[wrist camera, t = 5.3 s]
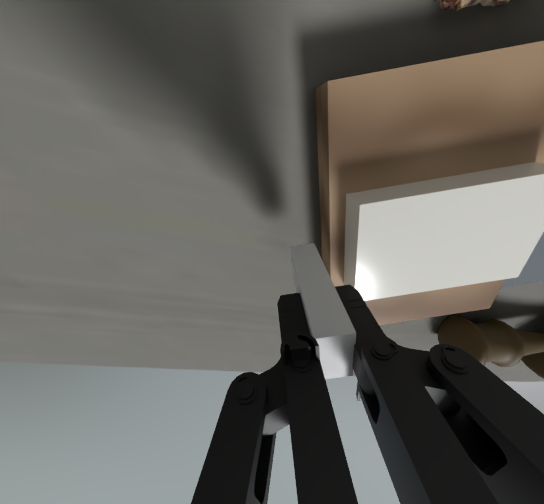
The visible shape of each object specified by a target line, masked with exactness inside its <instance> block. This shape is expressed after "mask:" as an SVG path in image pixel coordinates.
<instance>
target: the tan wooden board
mask: <svg viewBox="0 0 544 504" xmlns="http://www.w3.org/2000/svg"><path fill="white" fill-rule="evenodd" d="M315 95H316V120H317V146H318V171H319V197H320V222H321V247H322V261H323V263H324V265H325V267H326V269H327V272H328V274H329V276H330V278H331V280H332V282H333V284H334V286H335V287H336V286H342V285H344V256H345V218H346V194H349V193H355V192H361V191H367V190H372V189H378V188H384V187H390V186H396V185H402V184H408V183H414V182H419V181H425V180H431V179H437V178H443V177H449V176H455V175H461V174H466V173H472V172H478V171H484V170H490V169H496V168H502V167H508V166H513V165H519V164H525V163H531V162H541V163H544V41H539V42H534V43H528V44H523V45H518V46H512V47H507V48H502V49H496V50H491V51H486V52H480V53H475V54H470V55H464V56H459V57H453V58H448V59H443V60H437V61H432V62H427V63H421V64H416V65H411V66H405V67H400V68H395V69H389V70H384V71H379V72H373V73H368V74H363V75H357V76H352V77H346V78H341V79H336V80H330V81H327V82H325V83H324V84H322V85H320V86H319V87H317V88H315ZM504 281H505V279H504V280H497V281H491V282H484V283H478V284H471V285H465V286H458V287H452V288H445V289H439V290H432V291H426V292H419V293H413V294H406V295H400V296H394V297H387V298H381V299H374V300H368V301H365V303H366V304H367V307H368V308H369V309H370V311H371V313H372V314H373V316H374V318H375V319H376V321H377V323H378V324H379V325H383V324H390V323H396V322H403V321H410V320H416V319H423V318H430V317H436V316H443V315H450V314H456V313H463V312H469V311H476V310H483V309H489V308H490V307H491V305H492V303H493V301H494V299H495V298H496V296H497V294H498V292H499V290H500V288H501V286H502V284H503V282H504Z"/></svg>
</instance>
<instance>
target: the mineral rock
mask: <svg viewBox="0 0 544 504" xmlns="http://www.w3.org/2000/svg"><path fill="white" fill-rule="evenodd" d="M436 1H437V2H438V3H439V5H440V8H441V9H442V8H444V9H446V10H450V9H451V8H452V9H453V10H454V11H455V12H457V11H458V10H460V9H461V8H464V7H467V6H472V5H476V4H478V3H481V5H482V6H489V5H490V6H496V5H498V4H501V5H504V4H506V3H508V2H510V1H512V0H436Z"/></svg>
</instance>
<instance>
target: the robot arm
mask: <svg viewBox="0 0 544 504" xmlns="http://www.w3.org/2000/svg"><path fill="white" fill-rule="evenodd" d="M290 252H291V260H292V269H293V277H294V283H295V287H296V292H297V293H294V294H287V295H281V296H280V299H279V301H278V303H277V304H278V313H279V322H280V331H281V340H282V344H281V349H280V352H281V358H280V360H279V361H278V363H277V364H276V365H275V366H274V367H272V368H271V369H269V370H267V371H265V372H263V373H261V374H259V375H258V374H256V373H253V372H247V373H243V374H241V375H239V376H238V377H236V379H234V381H232V383H231V385H230V387H229V389H228V391H227V394H226V398H225V401H224V404H223V407H222V410H221V413H220V416H219V419H218V422H217V425H216V428H215V431H214V434H213V438H212V441H211V444H210V447H209V450H208V453H207V456H206V459H205V462H204V465H203V469H202V471H201V474H200V477H199V481H198V484H197V487H196V490H195V493H194V496H193V499H192V502H191V504H267V500H268V493H269V485H270V477H271V469H272V462H273V454H274V446H275V439H276V432H277V431H279V430H280V429H282V428H284V427H285V426H287V425H289V424H290V432H291V442H292V451H293V460H294V469H295V479H296V488H297V496H298V504H358V502H357V498H356V494H355V490H354V487H353V483H352V479H351V475H350V471H349V468H348V464H347V460H346V457H345V453H344V449H343V445H342V442H341V438H340V434H339V430H338V426H337V422H336V419H335V415H334V411H333V407H332V404H331V400H330V396H329V392H328V389H327V385H326V381H325V379H331V378H338V377H345V376H353V369H354V372H355V374H356V377H357V379H358V383H357V393H356V395H357V400H358V401H360V398H361V399H362V402H363V404H364V407H365V410H366V413H367V415H368V418H369V421H370V423H371V426H372V429H373V431H374V434H375V437H376V439H377V442H378V445H379V448H380V450H381V453H382V456H383V458H384V461H385V464H386V466H387V469H388V472H389V474H390V477H391V480H392V482H393V485H394V488H395V490H396V493H397V496H398V498H399V501H400V503H401V504H544V414H543V413H541V412H540V411H539V410H538V409H536V408H535V407H534V406H533V405H532V404H530V403H529V402H528V401H526V400H525V399H524V398H523V397H522V396H521V395H519V394H518V393H517V392H516V391H514V390H513V389H512V388H511V387H509V386H508V385H507V384H506V383H505V382H503V381H502V380H501V379H500V378H498V377H497V376H496V375H495V374H493V373H492V372H491V371H490V370H489V369H487V368H486V367H485V366H484V365H482V364H481V363H480V362H479V361H477V360H476V359H475V358H474V357H473V356H471V355H470V354H468V353H467V352H465V351H464V350H462V349H460V348H458V347H455V346H453V345H448V344H438V345H435V346H434V347H432V348H431V349H430V352H429V351H422V350H416V349H409V348H405V347H402V346H400V345H397V344H396V343H395V342H394V341H393V340H391V339H389V338H388V337H386V335H385V334H384V333H383V331H382V329H381V328H380V326H379V324H378V323H377V321H376V319H375V318H374V316H373V314H372V313H371V311H370V309H369V308H368V307H367V304H366V303H365V301H364V300H363V298H362V296H361V295H360V293H359V291H358V290H357V289H355V288H354V287H353V286H351V285H350V284H349V285H342V286H336V287H335V286H334V284H333V282H332V280H331V278H330V276H329V274H328V272H327V269H326V267H325V265H324V263H323V261H322V259H321V257H320V255H319V252H318V250H317V248H316V246H315V244H314V243H311V244H304V245H298V246H292V247H290Z"/></svg>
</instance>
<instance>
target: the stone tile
mask: <svg viewBox="0 0 544 504" xmlns="http://www.w3.org/2000/svg"><path fill="white" fill-rule="evenodd" d="M543 232H544V163H541V162H531V163H525V164H519V165H513V166H508V167H502V168H496V169H490V170H484V171H478V172H472V173H466V174H461V175H455V176H449V177H443V178H437V179H431V180H425V181H419V182H414V183H408V184H402V185H396V186H390V187H384V188H378V189H372V190H367V191H361V192H355V193H349V194H346V218H345V256H344V285H349V284H350V285H351V286H353V287H354V288H355V289H357V290H358V291H359V293H360V295H361V296H362V298H363V300H364V301H368V300H374V299H381V298H387V297H394V296H400V295H406V294H413V293H419V292H426V291H432V290H439V289H445V288H452V287H458V286H465V285H471V284H478V283H484V282H491V281H497V280H504V279H510V278H516V277H518V276H519V274H520V273H521V271H522V269H523V267H524V266H525V264H526V262H527V260H528V259H529V257H530V255H531V253H532V252H533V250H534V248H535V246H536V244H537V243H538V241H539V239H540V237H541V236H542V234H543Z"/></svg>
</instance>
